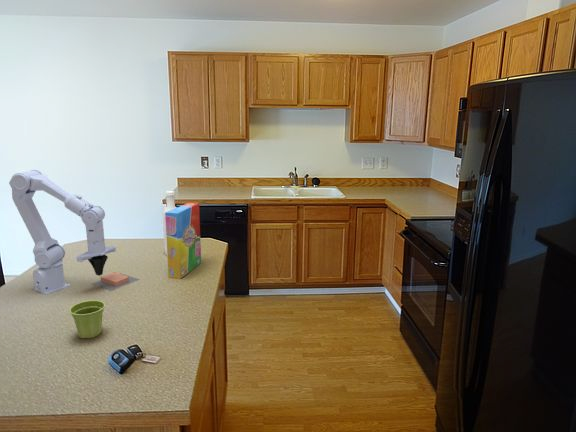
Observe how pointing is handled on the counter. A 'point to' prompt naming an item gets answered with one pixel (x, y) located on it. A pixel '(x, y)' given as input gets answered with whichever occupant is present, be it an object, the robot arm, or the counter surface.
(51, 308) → the counter surface
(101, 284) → the mat
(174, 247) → the game box
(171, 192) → the bottle
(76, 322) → the plant pot
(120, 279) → the block
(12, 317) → the counter surface
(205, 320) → the counter surface
